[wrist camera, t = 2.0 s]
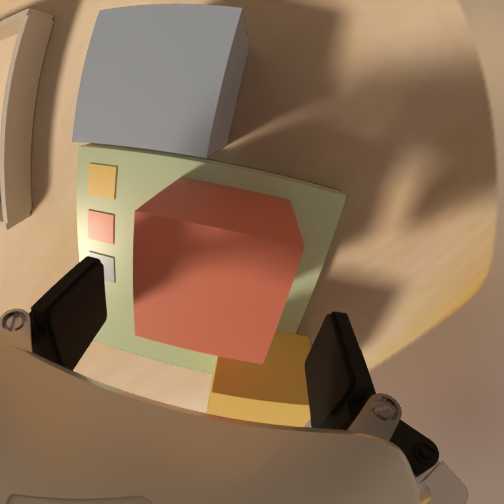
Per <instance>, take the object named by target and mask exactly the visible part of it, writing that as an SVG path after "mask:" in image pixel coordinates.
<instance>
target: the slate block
mask: <svg viewBox="0 0 504 504" xmlns="http://www.w3.org/2000/svg"><path fill="white" fill-rule="evenodd" d="M249 49H250V45H249V39H248V34H247V29H246V24H245V19H244V14H243V9H242V8H238V7H229V6H218V5H203V4H153V5H138V6H128V7H119V8H112V9H105V10H100V11H99V14H98V17H97V20H96V23H95V26H94V30H93V33H92V36H91V40H90V43H89V47H88V51H87V55H86V59H85V63H84V68H83V72H82V77H81V82H80V88H79V93H78V99H77V106H76V113H75V120H74V129H73V139H72V142H84V143H97V144H108V145H118V146H127V147H135V148H143V149H151V150H158V151H165V152H171V153H178V154H184V155H190V156H196V157H202V158H207V157H209V156H211V155H212V154H214V153H215V152H217V151H219V150H220V149H222V148H224V147H225V146H227V143H228V138H229V133H230V129H231V124H232V120H233V115H234V111H235V106H236V102H237V98H238V93H239V89H240V85H241V81H242V77H243V73H244V69H245V65H246V61H247V57H248V53H249Z"/></svg>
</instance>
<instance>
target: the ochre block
mask: <svg viewBox="0 0 504 504" xmlns="http://www.w3.org/2000/svg"><path fill="white" fill-rule="evenodd" d="M310 350H311V346H310V340H309V336H303V335H296V334H290V333H284V332H278V331H275V334H274V337H273V339H272V342H271V345H270V347H269V350H268V352H267V355H266V358H265V360H264V363H263V364H258V363H252V362H246V361H240V360H235V359H230V358H225V357H220V356H217V359H216V363H215V368H214V373H213V378H212V384H211V389H210V395H209V400H208V406H207V412H206V413H207V414H212V415H217V416H222V417H227V418H233V419H239V420H245V421H252V422H260V423H267V424H276V425H286V426H296V427H304V426H305V424H306V423H307V422H308V421H309V419H310V418H311V417H310V408H309V400H308V391H307V383H306V375H305V367H304V366H305V360H306V358H307V356H308V354H309V352H310Z"/></svg>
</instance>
